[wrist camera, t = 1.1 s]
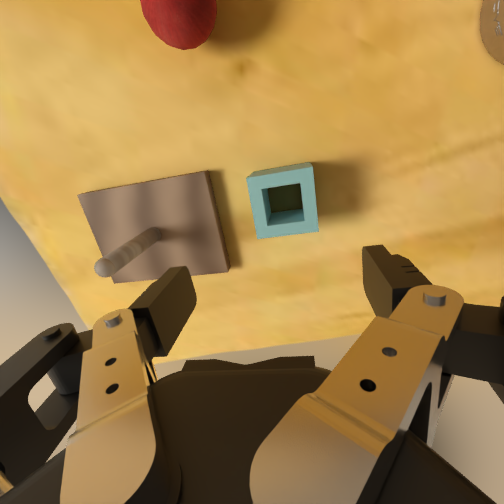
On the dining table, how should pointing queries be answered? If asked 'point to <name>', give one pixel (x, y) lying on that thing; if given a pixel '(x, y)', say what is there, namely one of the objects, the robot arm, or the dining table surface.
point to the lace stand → (157, 228)
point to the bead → (283, 220)
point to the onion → (181, 21)
